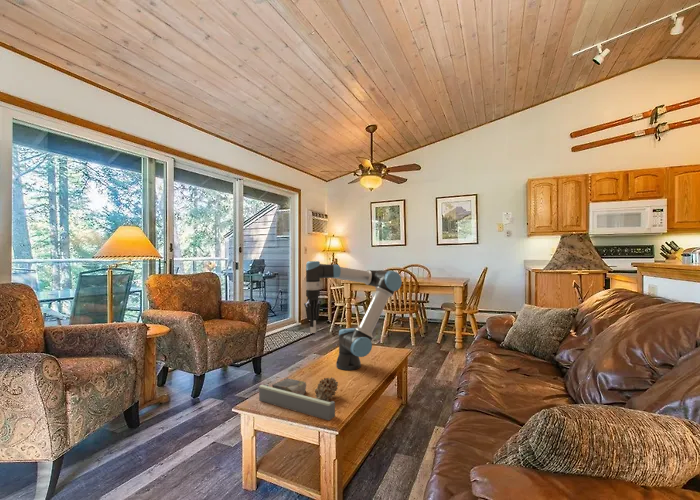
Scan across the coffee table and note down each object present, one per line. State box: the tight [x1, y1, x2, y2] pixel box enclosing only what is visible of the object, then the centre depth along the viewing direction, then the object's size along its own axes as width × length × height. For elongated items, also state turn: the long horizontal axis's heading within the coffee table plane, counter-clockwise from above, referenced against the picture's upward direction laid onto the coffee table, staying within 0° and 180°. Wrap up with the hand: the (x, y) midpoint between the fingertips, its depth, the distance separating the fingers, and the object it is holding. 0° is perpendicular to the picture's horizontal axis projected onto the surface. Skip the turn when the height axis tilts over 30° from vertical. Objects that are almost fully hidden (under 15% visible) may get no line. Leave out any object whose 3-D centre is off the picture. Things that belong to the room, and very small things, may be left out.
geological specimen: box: [271, 378, 307, 396], centre depth 163 cm, size 11×6×15 cm
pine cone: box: [314, 377, 339, 402], centre depth 152 cm, size 22×10×10 cm, turn 155°
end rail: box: [258, 383, 336, 421], centre depth 148 cm, size 5×40×7 cm, turn 60°
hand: (313, 332), depth 180 cm, fingers closed
